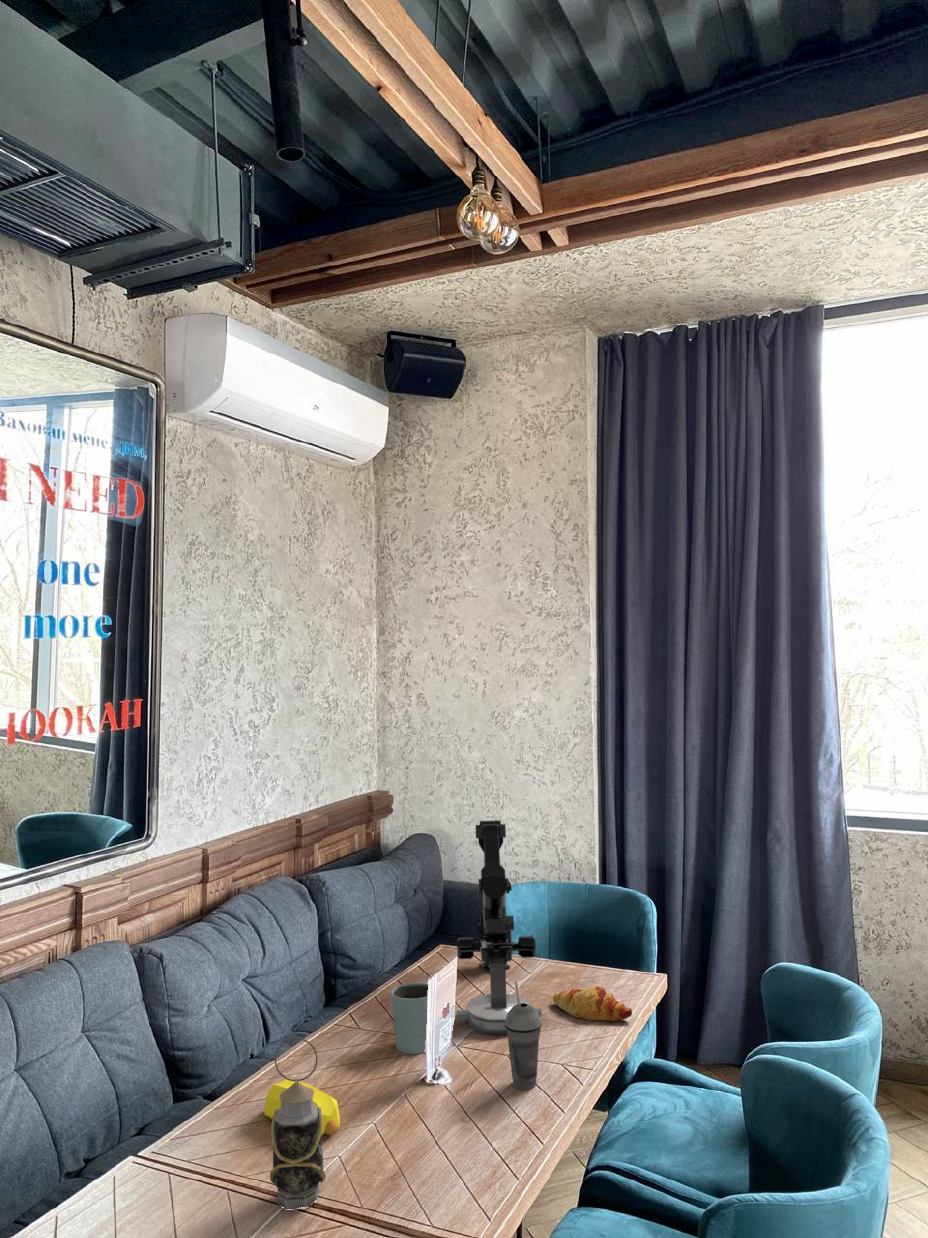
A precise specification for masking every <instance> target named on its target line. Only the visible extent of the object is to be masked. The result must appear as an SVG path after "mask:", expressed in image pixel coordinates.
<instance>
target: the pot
mask: <svg viewBox="0 0 928 1238" xmlns="http://www.w3.org/2000/svg"><path fill="white" fill-rule="evenodd" d="M534 1009H535V1010H536V1011H537V1013H538V1015H539V1017H540V1018H542V1017H543V1013H542V1008H534ZM455 1014H456V1016H455V1017H456V1019H457V1020H467V1019H468V1026H469V1028H470V1029H471V1030H472V1031H473V1032H476V1033H477V1034H481V1035H485V1036H486V1035H487V1036H492V1037H493V1036H494V1037H499V1036H500V1037H501V1036H507V1033H506V1028H505V1023H506V1020H505V1021H490V1020H483V1019H479V1018H476V1017H474V1016H472V1015H471V1014H469V1012H468V1011H467V1009H466V1010H465V1009H464V1010H461V1009H460V1010H459V1009H458V1010H456V1013H455Z"/></svg>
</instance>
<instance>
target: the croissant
mask: <svg viewBox="0 0 928 1238" xmlns="http://www.w3.org/2000/svg"><path fill="white" fill-rule="evenodd" d="M552 1000H553V1003H554V1004H556V1005H557V1006H558V1007H559V1008H560V1009H561V1010H562V1011H564V1012H565V1013H567V1014H570V1015H571V1016H573V1017H574V1018H580V1019H585V1020H588V1021H607V1022H608V1021H610V1022H618V1021H619V1022H621V1021H624V1020H626V1019H628V1018H631V1017H632V1016H633V1009H632V1008H631V1007H626V1005H625V1004H624V1003H623V1002H621V1001H618V1000H616V999H615V997H614V995H613V994H610V993H609V992H608V993H607V992H606V990H605V988H604V987H602V986H599V985H592V986H587V987H586V988H583V987H582V988H579V987H578V988H577V987H576V988H572V989H570V990H561V991H560V992H558V993H554V994H553V996H552Z"/></svg>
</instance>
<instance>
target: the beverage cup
mask: <svg viewBox="0 0 928 1238" xmlns="http://www.w3.org/2000/svg"><path fill="white" fill-rule="evenodd" d="M514 987H515V992H516V993H515V995H517V1002H518V1004H516V1005H515V1006H513V1007H512V1008H511V1009H510V1010H509V1012H508V1014H507V1016H506V1023H505V1028H506V1033H507V1035H506V1037H507V1041H508V1049H509V1050H508V1051H509V1061H510V1069H511V1076H512V1082H513V1085H512V1086H513V1087H514V1088H516V1089H518V1090H523V1091H525V1090H532V1089H534V1088H536V1086H537V1077H538V1063H539V1062H538V1061H539V1046H540V1045H539V1044H540V1043H539V1042H540V1035H541V1028H542V1022H541V1019H540V1018H541V1017H539V1015H538V1013H537V1011H536V1010H535V1009H536V1008H535V1007H533V1005H531V1004H530V1005H529V1004H526V1003H520V998H519V996H520V993H519V984H518V981H517V980H516V981H514Z"/></svg>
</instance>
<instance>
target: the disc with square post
mask: <svg viewBox="0 0 928 1238" xmlns="http://www.w3.org/2000/svg"><path fill="white" fill-rule="evenodd" d="M506 970H507V969H505V959H490V972H489V975H490V976H489V979H490V981H489V983H490V993H489V994H487V993H486V994H483V995H479V996H477V997H473V998H471V999H470V1000H469V1001H468V1002H467V1004H466V1005H467V1006H466V1007H467V1008H466V1010H467V1011H468V1012H469V1014H471V1015H472V1016H474V1017H476V1018H479V1019H483V1020H490V1021H505V1020H506V1016H507V1014H508V1012H509V1010H510V1009H511V1008H512V1007H513V1006H515V1005H516V1004H518V1002H517V995H516V994H511V993H507V977H506V976H507V975H506ZM519 998H520V1003H526V1004H529V1005H531V1003H530V1001H529V1000H528V999H527V998H525V997H523V996H520V995H519Z"/></svg>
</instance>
